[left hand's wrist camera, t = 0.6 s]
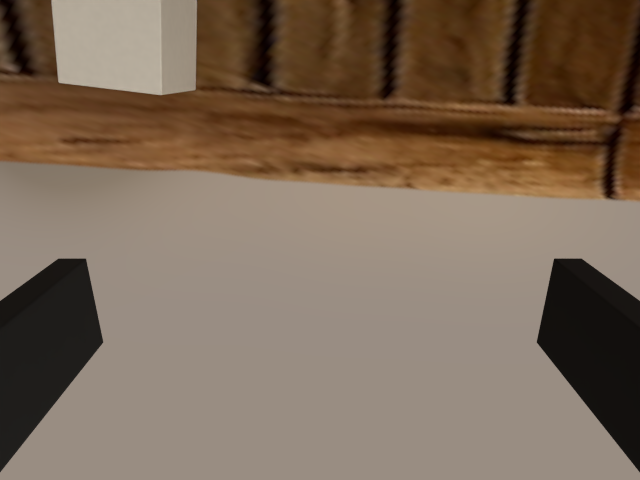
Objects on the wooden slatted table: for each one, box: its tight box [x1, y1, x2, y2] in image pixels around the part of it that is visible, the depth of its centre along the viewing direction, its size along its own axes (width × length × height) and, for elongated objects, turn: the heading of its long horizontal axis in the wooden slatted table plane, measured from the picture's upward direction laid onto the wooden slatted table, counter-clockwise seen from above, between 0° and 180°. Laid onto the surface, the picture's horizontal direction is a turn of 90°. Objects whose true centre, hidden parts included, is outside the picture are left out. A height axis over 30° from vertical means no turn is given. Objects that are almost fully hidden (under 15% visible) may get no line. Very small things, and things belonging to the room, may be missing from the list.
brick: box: [51, 0, 197, 95], centre depth 27 cm, size 6×7×7 cm
